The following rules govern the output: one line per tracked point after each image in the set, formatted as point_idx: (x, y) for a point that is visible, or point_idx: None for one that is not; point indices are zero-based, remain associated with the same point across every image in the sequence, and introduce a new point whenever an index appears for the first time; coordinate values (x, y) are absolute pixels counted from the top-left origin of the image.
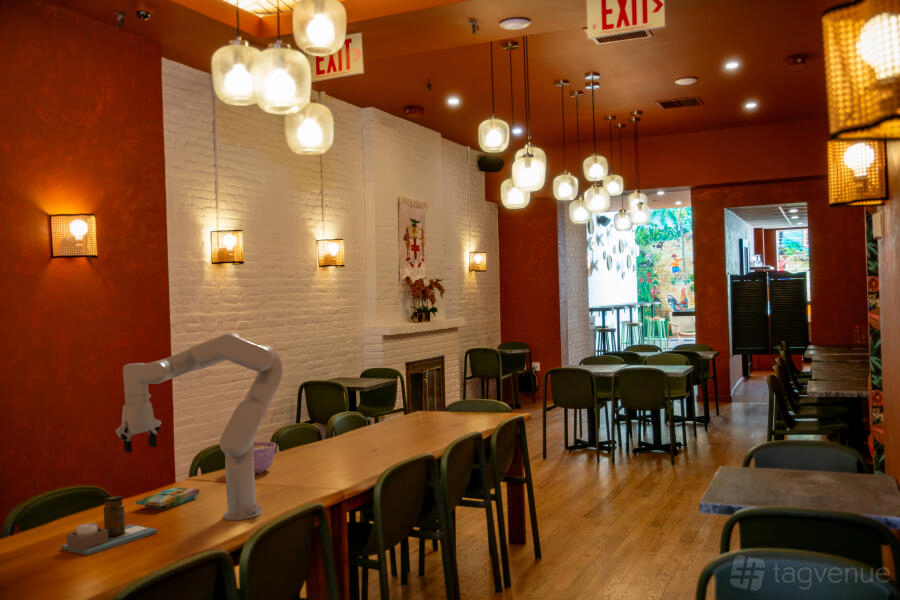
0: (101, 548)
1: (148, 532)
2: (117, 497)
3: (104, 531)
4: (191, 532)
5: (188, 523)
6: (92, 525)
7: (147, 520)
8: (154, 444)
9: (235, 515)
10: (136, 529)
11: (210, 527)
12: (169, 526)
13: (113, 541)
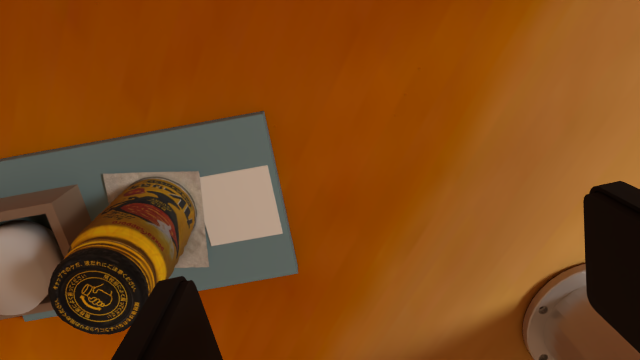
0: None
1: (262, 279)
2: (115, 312)
3: None
4: (372, 349)
5: (430, 247)
6: (22, 291)
7: (363, 53)
8: (609, 321)
9: (548, 350)
10: (244, 214)
11: (440, 349)
12: (368, 224)
13: None
